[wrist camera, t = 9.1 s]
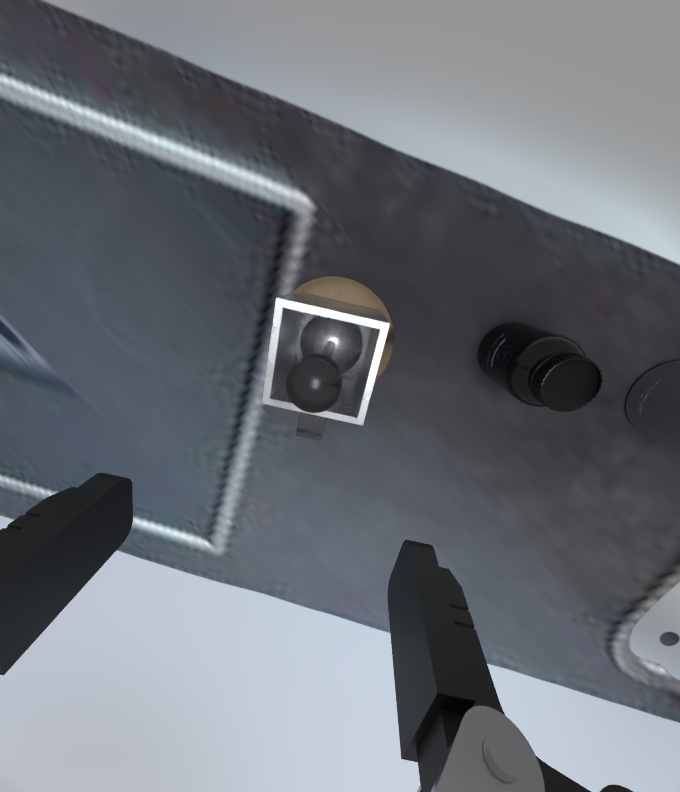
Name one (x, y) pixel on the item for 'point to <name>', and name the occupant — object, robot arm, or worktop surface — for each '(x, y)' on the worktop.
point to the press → (289, 321)
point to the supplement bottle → (540, 367)
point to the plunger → (323, 363)
